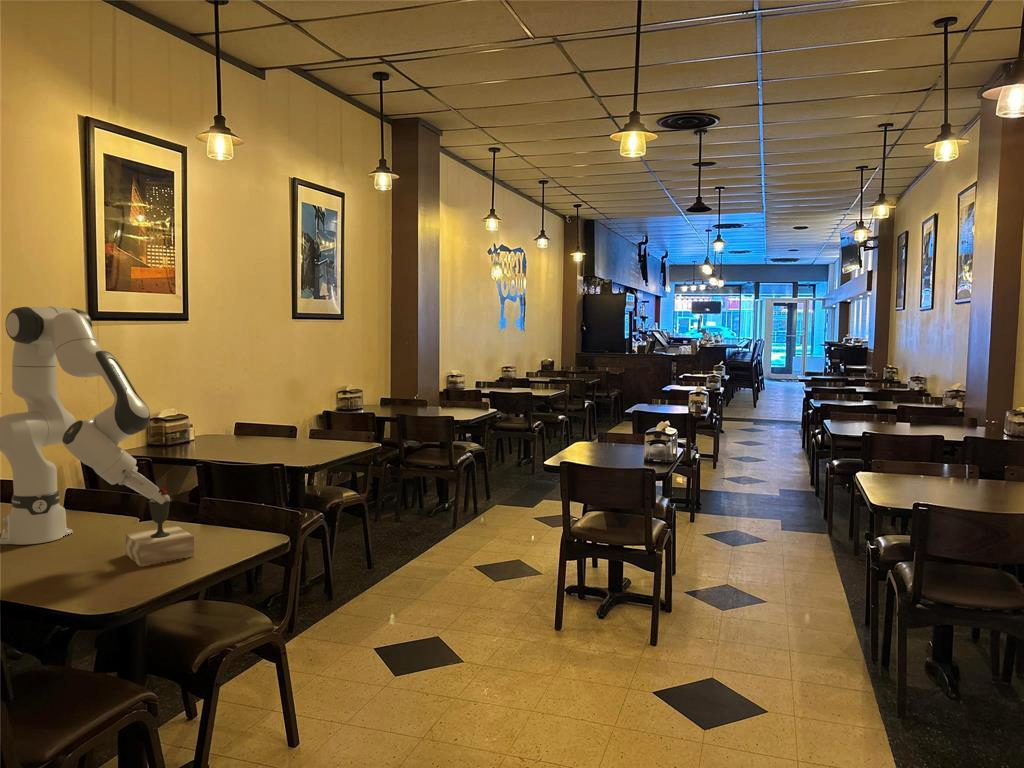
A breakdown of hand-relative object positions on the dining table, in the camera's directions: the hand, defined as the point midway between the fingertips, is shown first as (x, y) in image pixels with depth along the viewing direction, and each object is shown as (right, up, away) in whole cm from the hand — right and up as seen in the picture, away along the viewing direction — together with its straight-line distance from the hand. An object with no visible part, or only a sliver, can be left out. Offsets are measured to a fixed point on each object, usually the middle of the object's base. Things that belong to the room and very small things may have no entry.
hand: (157, 498), depth 203 cm
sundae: (+1, -11, 0) cm, 11 cm away
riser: (0, -16, +1) cm, 16 cm away
